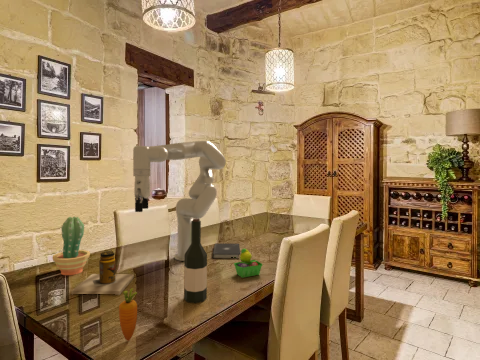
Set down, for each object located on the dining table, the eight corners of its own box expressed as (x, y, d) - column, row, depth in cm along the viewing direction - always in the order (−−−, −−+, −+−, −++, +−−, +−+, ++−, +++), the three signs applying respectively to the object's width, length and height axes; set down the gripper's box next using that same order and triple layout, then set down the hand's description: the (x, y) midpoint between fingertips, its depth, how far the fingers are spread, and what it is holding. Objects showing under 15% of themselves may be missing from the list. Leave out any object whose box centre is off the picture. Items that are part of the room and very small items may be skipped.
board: (133, 277, 138) (133, 274, 137) (119, 294, 120) (119, 290, 119) (92, 277, 137) (92, 273, 137) (71, 294, 119) (71, 290, 119)
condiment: (118, 282, 127) (118, 253, 127) (95, 287, 123) (95, 256, 122) (114, 277, 133) (114, 249, 133) (92, 281, 129) (92, 252, 128)
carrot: (130, 334, 93) (130, 284, 92) (141, 339, 90) (141, 288, 89) (115, 341, 88) (114, 289, 88) (126, 348, 86) (125, 294, 85)
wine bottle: (185, 293, 121) (185, 216, 120) (206, 293, 122) (207, 216, 121) (183, 303, 113) (183, 220, 112) (206, 303, 114) (207, 220, 112)
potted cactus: (98, 268, 148) (97, 215, 147) (70, 279, 134) (70, 221, 132) (72, 264, 153) (72, 213, 152) (43, 275, 139) (42, 218, 137)
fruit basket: (240, 279, 138) (241, 253, 137) (232, 272, 146) (232, 248, 145) (263, 275, 143) (263, 250, 142) (253, 269, 151) (253, 246, 150)
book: (214, 248, 189) (214, 243, 188) (239, 248, 189) (239, 243, 189) (212, 259, 167) (212, 253, 167) (240, 259, 167) (240, 254, 167)
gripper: (145, 173, 136) (145, 213, 136) (154, 172, 153) (154, 207, 154) (127, 173, 135) (127, 213, 136) (139, 172, 153) (139, 207, 153)
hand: (141, 210), depth 145 cm, fingers open, 9 cm apart
